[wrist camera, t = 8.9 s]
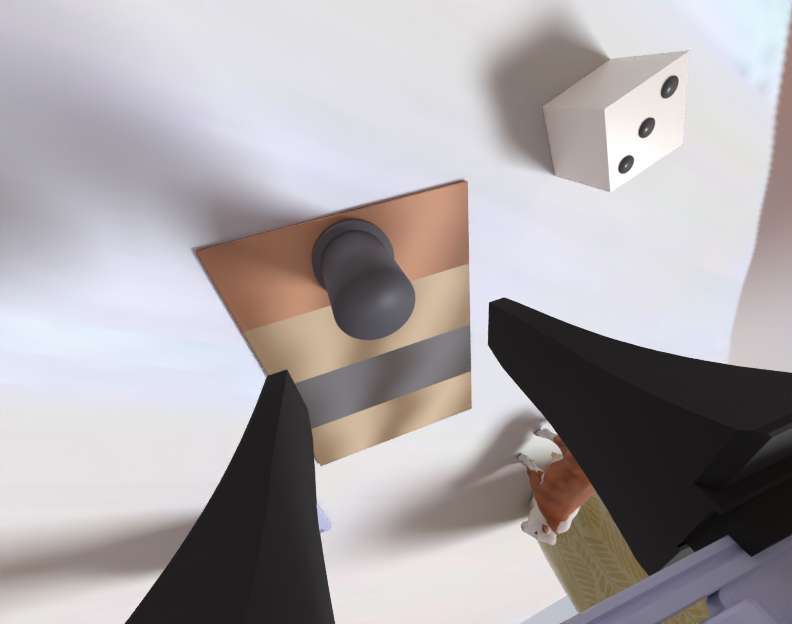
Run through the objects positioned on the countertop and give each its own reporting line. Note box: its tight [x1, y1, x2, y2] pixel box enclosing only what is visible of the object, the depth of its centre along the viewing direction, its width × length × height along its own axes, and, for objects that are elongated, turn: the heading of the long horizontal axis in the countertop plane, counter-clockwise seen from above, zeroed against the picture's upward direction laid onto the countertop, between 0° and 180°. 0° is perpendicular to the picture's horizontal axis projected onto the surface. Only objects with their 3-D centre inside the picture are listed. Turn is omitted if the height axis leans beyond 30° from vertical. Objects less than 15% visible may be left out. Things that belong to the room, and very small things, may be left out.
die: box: [542, 51, 690, 192], centre depth 16 cm, size 4×4×4 cm
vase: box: [530, 492, 709, 624], centre depth 38 cm, size 17×17×27 cm
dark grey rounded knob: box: [312, 219, 416, 340], centre depth 15 cm, size 4×4×5 cm
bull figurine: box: [517, 429, 596, 545], centre depth 35 cm, size 4×13×8 cm, turn 154°
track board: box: [196, 181, 472, 466], centre depth 22 cm, size 14×20×1 cm
